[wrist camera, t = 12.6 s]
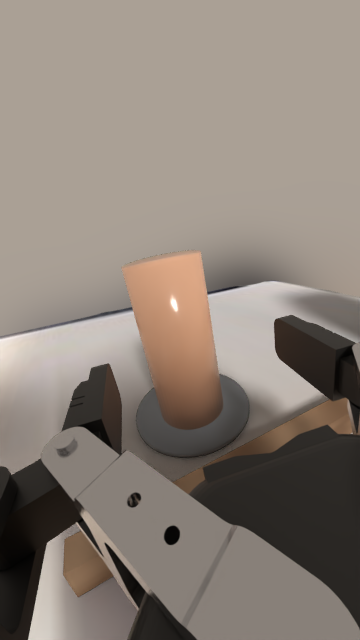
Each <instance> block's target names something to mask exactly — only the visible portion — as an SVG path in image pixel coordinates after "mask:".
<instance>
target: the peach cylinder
mask: <svg viewBox="0 0 360 640" xmlns="http://www.w3.org/2000/svg"><path fill="white" fill-rule="evenodd" d="M122 271H123V275H124V279H125V282H126V286H127V290H128V293H129V297H130V301H131V304H132V308H133V312H134V315H135V319H136V323H137V326H138V330H139V334H140V337H141V341H142V345H143V348H144V352H145V356H146V359H147V363H148V367H149V370H150V374H151V378H152V381H153V385H154V389H155V392H156V396H157V400H158V403H159V407H160V411H161V414H162V417H163V419H164V420H165V422H166V423H167V424H169V425H170V426H172V427H174V428H178V429H183V430H192V429H198V428H201V427H204V426H206V425H208V424H210V423H212V422H213V421H214V420H215V419H216V418H217V417H218V416H219V415H220V413H221V412H222V409H223V396H222V390H221V383H220V376H219V370H218V363H217V356H216V350H215V343H214V337H213V330H212V323H211V317H210V310H209V303H208V297H207V290H206V283H205V277H204V271H203V264H202V257H201V251H199V250H187V251H178V252H172V253H166V254H161V255H156V256H152V257H148V258H144V259H140V260H136V261H134V262H130V263H128V264H126V265H124V266H122Z"/></svg>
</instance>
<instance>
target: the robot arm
mask: <svg viewBox="0 0 360 640" xmlns="http://www.w3.org/2000/svg"><path fill="white" fill-rule="evenodd" d="M274 333H275V350H276V353H277V355H278V357H279V359H280V360H281V361H283V362H284V363H285V364H286V365H288V366H289V367H290V368H291V369H293V370H294V371H295V372H296V373H298V374H299V375H300V376H301V377H303V378H304V379H305V380H306V381H308V382H309V383H310V384H311V385H313V386H314V387H315V388H316V389H318V390H319V391H320V392H321V393H323V394H324V395H325V396H326V397H328V398H329V399H330V400H331V401H333V402H334V401H337V400H340V399H343V398H347V399H348V403H347V408H348V413H349V417H350V422H351V427H352V432H353V434H337V433H336V432H335V431H334V430H333V429H332V428H331V427H330V426H329V425H328V424H327V425H324V426H321V427H319V428H316V429H313V430H310V431H307V432H304V433H301V434H298V435H297V436H296V437H294V438H293V439H291V440H290V441H288V442H287V443H286V444H284V445H283V446H281V447H280V448H279V449H277V450H276V451H274V452H272V453H264V454H253V455H242V456H234V457H231V458H228V459H225V460H222V461H219V462H216V463H214V464H211V465H208V466H205V467H202V468H203V472H204V477H205V480H204V481H202V482H201V483H199V484H198V485H197V486H196V487H195V488H194V489H193V490H192V491H191V492H190V493H189V494H187V493H186V492H184V491H183V490H182V489H180V488H179V487H178V486H176V485H175V484H173V483H172V482H171V481H169V480H168V479H167V478H165V477H164V476H163V475H161V474H160V473H159V472H157V471H156V470H154V469H153V468H152V467H150V466H149V465H148V464H146V463H145V462H144V461H142V460H141V459H140V458H138V457H137V456H136V455H134V454H133V453H131V452H130V451H127V450H125V451H124V452H123V453H122V454H121V436H122V404H121V398H120V393H119V390H118V387H117V384H116V381H115V378H114V375H113V372H112V369H111V367H110V365H109V363H108V364H104V365H100V366H97V367H93V368H91V371H90V375H89V380H87V381H84V382H81V383H80V384H79V386H78V387H77V388H76V389H75V390H74V393H73V396H72V401H71V402H70V406H69V407H70V408H69V409H68V412H67V415H66V419H65V422H64V425H63V428H62V432H60V433H59V434H57V435H56V436H55V437H53V438H52V439H51V440H50V441H49V442H48V443H47V444H46V446H45V447H44V449H43V451H42V454H41V459H39V460H38V461H36V462H35V463H33V464H31V465H29V466H27V467H26V468H24V469H22V470H20V471H18V472H16V473H15V474H13V475H11V473H10V472H9V470H8V469H7V468H6V467H0V640H28V636H29V631H30V626H31V621H32V616H33V611H34V605H35V600H36V595H37V590H38V585H39V580H40V575H41V569H42V564H43V559H44V554H45V549H46V544H47V542H49V541H50V540H52V539H53V538H55V537H56V536H57V535H59V534H60V533H62V532H63V531H65V530H66V529H67V528H69V527H70V526H72V525H73V524H75V523H76V524H77V526H78V527H79V528H80V530H81V531H82V532H83V534H84V535H85V537H86V538H87V539H88V541H89V542H90V543H91V545H92V546H93V547H94V549H95V550H96V551H97V553H98V554H99V556H100V557H101V558H102V560H103V561H104V562H105V564H106V565H107V567H108V568H109V569H110V571H111V572H112V574H113V576H114V577H115V579H116V581H117V582H118V584H119V585H120V587H121V588H122V590H123V591H124V593H125V594H126V596H127V597H128V598H129V600H130V601H131V603H132V604H133V605H134V607H135V608H136V609H137V611H138V613H137V616H136V618H135V621H134V623H133V626H132V629H131V631H130V634H129V636H128V639H127V640H360V342H359V343H355V342H353V341H351V340H349V339H346V338H344V337H342V336H340V335H338V334H336V333H333V332H332V331H329V330H327V329H326V330H325V328H323V327H321V326H319V325H317V324H313V323H309V322H306V321H304V320H301V319H299V318H297V317H295V316H293V315H289V316H285V317H281V318H278V319H276V320H275V322H274Z"/></svg>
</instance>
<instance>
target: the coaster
mask: <svg viewBox="0 0 360 640" xmlns="http://www.w3.org/2000/svg"><path fill="white" fill-rule="evenodd" d="M219 376H220V383H221V390H222V396H223V409H222V412H221V413H220V415H219V416H218V417H217V418H216V419H215V420H214V421H213V422H212V423H210V424H208V425H206V426H204V427H201V428H198V429H192V430H183V429H178V428H174V427H172V426H170V425H169V424H167V423H166V422H165V420H164V419H163V417H162V414H161V411H160V407H159V403H158V400H157V396H156V392H155V389H154V388H153V389H152V390H151V391H149V392H148V394H147V395H146V396H145V397H144V398H143V400H142V401H141V403H140V405H139V408H138V410H137V415H136V422H137V427H138V430H139V433H140V435H141V437H142V439H143V440H144V441H145V442H146V444H147V445H149V446H150V447H151V448H152V449H154V450H156V451H158V452H160V453H163V454H165V455H169V456H174V457H196V456H202V455H205V454H209V453H212V452H214V451H217V450H219V449H221V448H223V447H224V446H226V445H228V444H229V443H230V442H232V441H233V440H234V439H235V438H236V437H237V436H238V435H239V434H240V433H241V431H242V430H243V428H244V427H245V425H246V423H247V420H248V416H249V402H248V398H247V395H246V393H245V391H244V390H243V388H242V387H241V386H240V385H239V384H238V383H237V382H235V381H234V380H232V379H231V378H229V377H227V376H224V375H221V374H219Z"/></svg>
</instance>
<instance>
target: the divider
mask: <svg viewBox="0 0 360 640" xmlns="http://www.w3.org/2000/svg"><path fill="white" fill-rule="evenodd" d="M347 403H348V399H347V398H343V399H340V400H337V401H334V402H333V401H331V400H328V401H326V402H324V403H322V404H320V405H318V406H316V407H314V408H313V409H311V410H309V411H307V412H305V413H303V414H301V415H299V416H297V417H295V418H294V419H292V420H290V421H288V422H286V423H284V424H282V425H280V426H278V427H277V428H275V429H273V430H271V431H269V432H267V433H265V434H263V435H261V436H259V437H258V438H256V439H254V440H252V441H250V442H248V443H246V444H244V445H242V446H241V447H239V448H237V449H235V450H233V451H231V452H229V453H227V454H225V455H223V456H222V457H220V458H218V459H216V460H214V461H212V462H210V463H208V464H206V465H205V466H208V465H211V464H214V463H216V462H219V461H222V460H225V459H228V458H231V457H234V456H242V455H253V454H264V453H272V452H274V451H276V450H277V449H279V448H280V447H281V446H283V445H284V444H286V443H287V442H288V441H290V440H291V439H293V438H294V437H296V436H297V435H298V434H301V433H304V432H307V431H310V430H313V429H316V428H319V427H321V426H324V425H327V424H328V425H329V426H330V427H331V428H332V429H333V430H334V431H335V432H336V433H337V434H350V433H352V427H351V422H350V417H349V413H348V408H347ZM205 466H203V467H205ZM204 480H205V477H204V472H203V468H202V467H201V468H199V469H197V470H195V471H193V472H191V473H189V474H187V475H186V476H184V477H182V478H180V479H178V480H176V481H174V482H172V483H173V484H175V485H176V486H178V487H179V488H180V489H182V490H183V491H184V492H186V493H187V494H189V493H190V492H191V491H192V490H193V489H194V488H195V487H196V486H197V485H198V484H199V483H201V482H202V481H204ZM63 575H64V577H65V578H66V580H67V581H68V583H69V584H70V586H71V587H72V589H73V591H74V592H75V594H76V595H77V597H79V596H81V595H83V594H84V593H86V592H88V591H89V590H91V589H93V588H94V587H96V586H98V585H99V584H101V583H103V582H104V581H106V580H108V579H109V578H111V577H113V574H112V572H111V571H110V569H109V568H108V567H107V565H106V564H105V562H104V561H103V560H102V558H101V557H100V556H99V554H98V553H97V551H96V550H95V549H94V547H93V546H92V545H91V543H90V542H89V541H88V539H87V538H86V537H85V535H84V534H83V532H82V531H79V532H78V533H76V534H74V535H72V536H70V537H68V538H66V539H65V544H64V569H63Z"/></svg>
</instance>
